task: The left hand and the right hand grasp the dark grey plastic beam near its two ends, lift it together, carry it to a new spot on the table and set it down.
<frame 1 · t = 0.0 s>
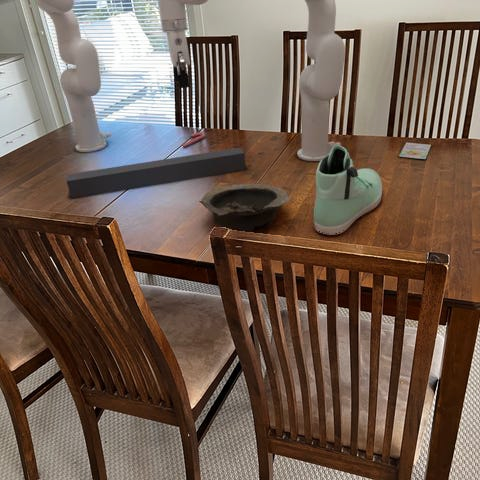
right hand: (182, 84, 152), 31 cm above the table, tool pointing down, fingers open, 9 cm apart
beam: (160, 180, 166), on the table
red elongated piece: (192, 141, 197), on the table
baking ingredient package: (415, 151, 172), on the table
stone bowl: (245, 219, 138), on the table
sneaker: (348, 208, 139), on the table
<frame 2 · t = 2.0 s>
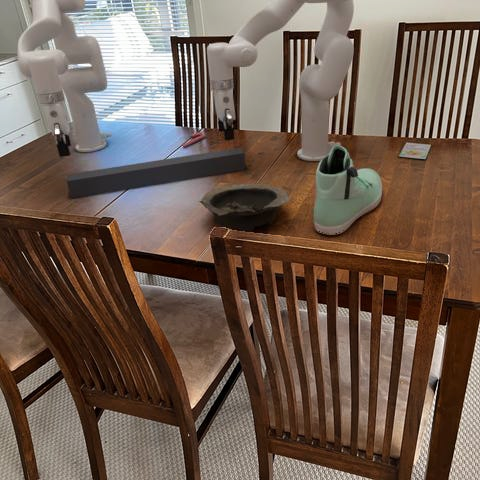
left hand: (65, 151, 155), 15 cm above the table, tool pointing down, fingers open, 9 cm apart
right hand: (226, 135, 164), 12 cm above the table, tool pointing down, fingers open, 9 cm apart
nothing on the table moved.
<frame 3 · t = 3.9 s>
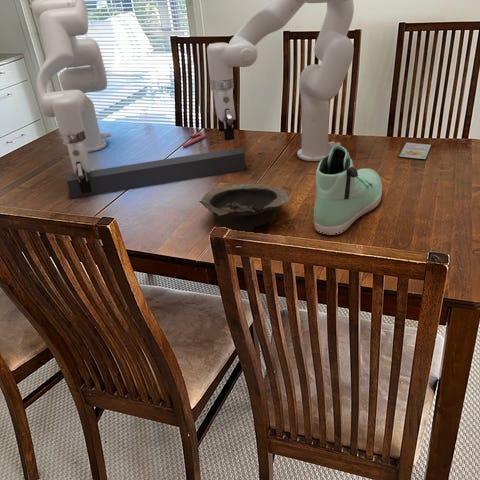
left hand: (86, 188, 161), 2 cm above the table, tool pointing down, fingers closed on beam, 5 cm apart
right hand: (226, 135, 164), 12 cm above the table, tool pointing down, fingers open, 9 cm apart
beam: (160, 180, 166), on the table, touching left hand
everything else where it was.
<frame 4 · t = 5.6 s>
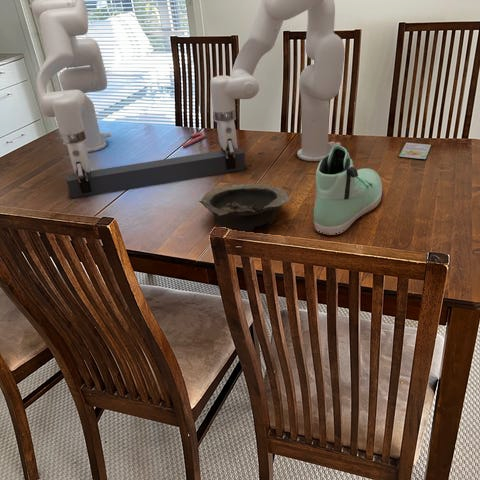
left hand: (86, 188, 161), 2 cm above the table, tool pointing down, fingers closed on beam, 5 cm apart
right hand: (228, 164, 169), 2 cm above the table, tool pointing down, fingers closed on beam, 5 cm apart
beam: (160, 180, 166), on the table, touching left hand, right hand
everything else where it was.
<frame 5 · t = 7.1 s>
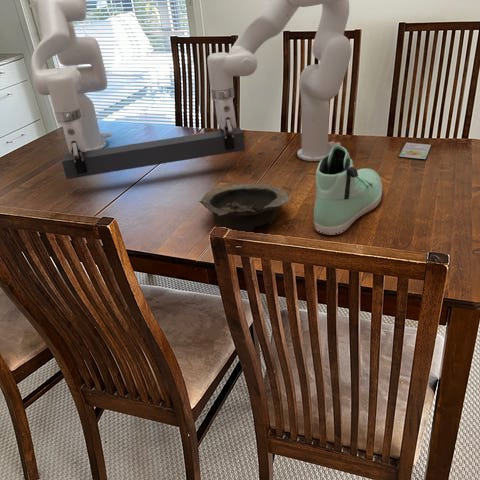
left hand: (82, 168, 157), 8 cm above the table, tool pointing down, fingers closed on beam, 5 cm apart
right hand: (227, 145, 166), 9 cm above the table, tool pointing down, fingers closed on beam, 5 cm apart
beam: (157, 161, 162), point 7 cm above the table, touching left hand, right hand
everything else where it was.
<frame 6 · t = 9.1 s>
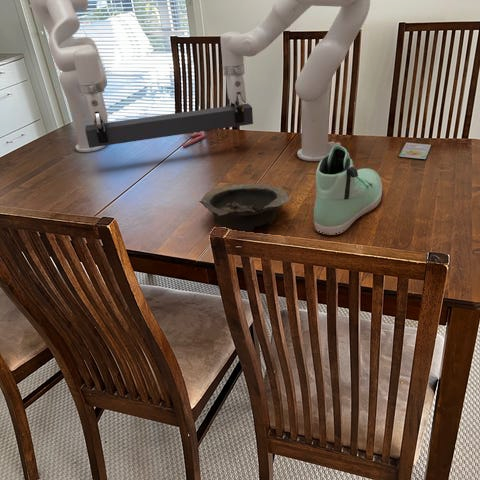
left hand: (103, 138, 171), 12 cm above the table, tool pointing down, fingers closed on beam, 5 cm apart
right hand: (237, 119, 179), 12 cm above the table, tool pointing down, fingers closed on beam, 5 cm apart
beam: (172, 133, 176), point 10 cm above the table, touching left hand, right hand
everything else where it was.
when the left hand's fingers open (3 cm above the table, at t = 10.5 s): beam drops 2 cm, on the table.
when the right hand's fingers open (3 cm above the table, at t = 10.5 s): beam drops 2 cm, on the table.
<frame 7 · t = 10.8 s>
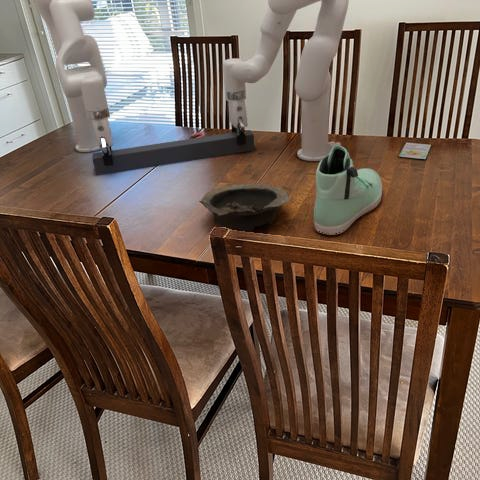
left hand: (108, 160, 175), 4 cm above the table, tool pointing down, fingers open, 8 cm apart
right hand: (238, 140, 184), 4 cm above the table, tool pointing down, fingers open, 8 cm apart
beam: (176, 159, 181), on the table
everything else where it was.
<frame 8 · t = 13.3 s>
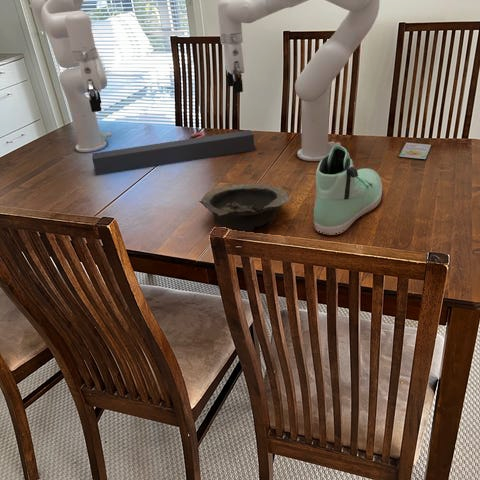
left hand: (96, 107, 165), 23 cm above the table, tool pointing down, fingers open, 9 cm apart
right hand: (235, 89, 173), 23 cm above the table, tool pointing down, fingers open, 9 cm apart
nothing on the table moved.
at the end: beam inside the target area (0.1 cm from its centre), on the table; beam tilted 0°; beam never tilted more than 1° during the clip; both hands held the beam at the same time; the left hand is holding nothing; the right hand is holding nothing; beam at rest at the end (0.0 cm/s) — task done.
